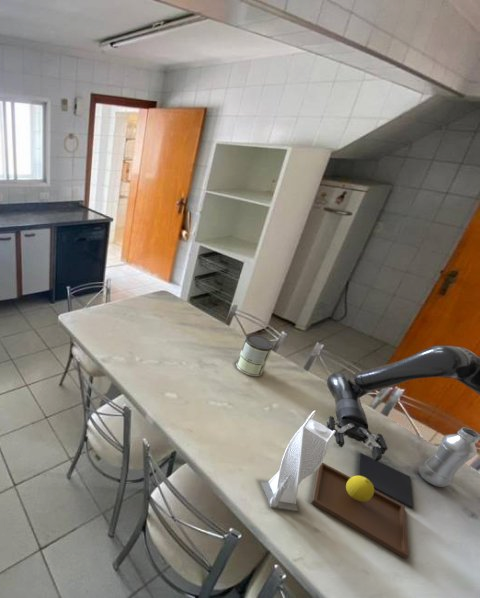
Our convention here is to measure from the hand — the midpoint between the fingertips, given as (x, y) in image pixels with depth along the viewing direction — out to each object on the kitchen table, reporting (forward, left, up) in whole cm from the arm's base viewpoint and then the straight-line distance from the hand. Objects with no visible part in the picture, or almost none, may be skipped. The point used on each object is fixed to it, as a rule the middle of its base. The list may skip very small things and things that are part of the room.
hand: (359, 451), depth 95 cm
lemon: (-2, +10, -8) cm, 13 cm away
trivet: (-9, -4, -8) cm, 13 cm away
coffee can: (+36, -30, -8) cm, 48 cm away
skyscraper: (+14, +23, -8) cm, 28 cm away
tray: (-3, +12, -8) cm, 15 cm away
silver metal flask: (-20, -14, -8) cm, 26 cm away
